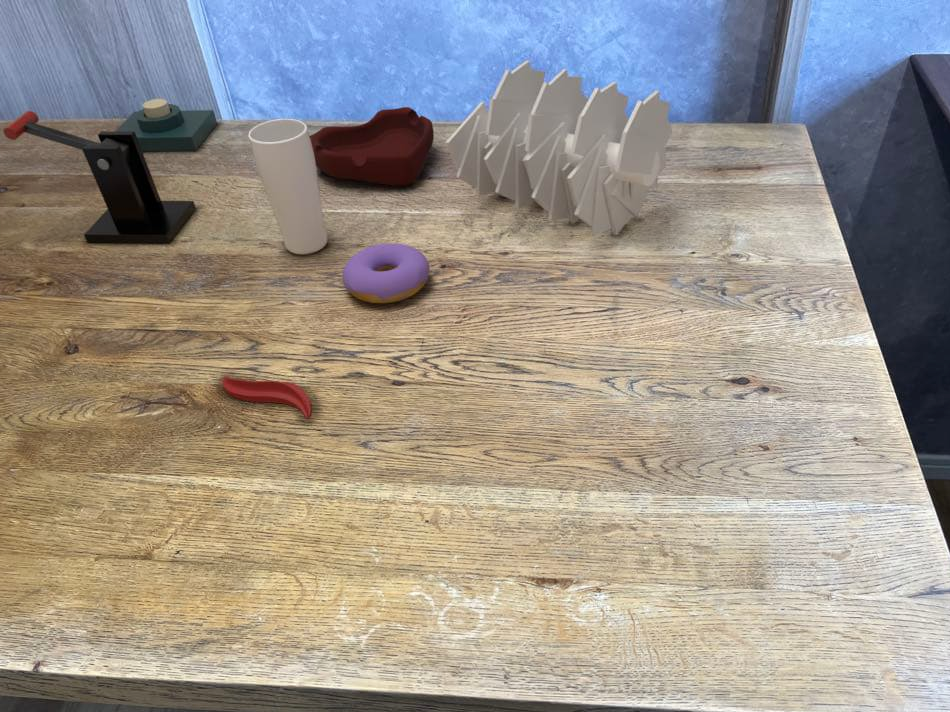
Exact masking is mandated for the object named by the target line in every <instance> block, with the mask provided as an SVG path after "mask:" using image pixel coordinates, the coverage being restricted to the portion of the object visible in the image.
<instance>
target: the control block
mask: <svg viewBox="0 0 950 712" xmlns="http://www.w3.org/2000/svg"><path fill="white" fill-rule="evenodd" d="M168 106H169V109H170V112H171V113H170V114H168V115H166V116H163V117H159V118H147V117H146V114H145V112H144V109H143V108H142V109H141V110H139V111H138V110H137V111H133V112H132V113H131V114H130V115H129V116H128V117H127V118H126V119H125V120H124V121H123V122H122V123H121V124H120V125H119V127H117V129H115V131H135V134H136V136H137V139H138V142H139V144H140V147H141V149H142V152H190V151H192V152H194V151H197V150H198V149H199V148H200V146H201V145H202V144H203V142H204V141H205V140H206V138H207V137H208V136H209V135H210V133H211V132H212V131H213V130H214V128H215V127H216V126H217V125H218V119H217V117H216V114H215V111H214V110H213V109H206V110H205V109H202V110H201V109H200V110H199V109H197V110H196V109H195V110H181V108H180V106H179V105H176V104H172V103H168Z"/></svg>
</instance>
